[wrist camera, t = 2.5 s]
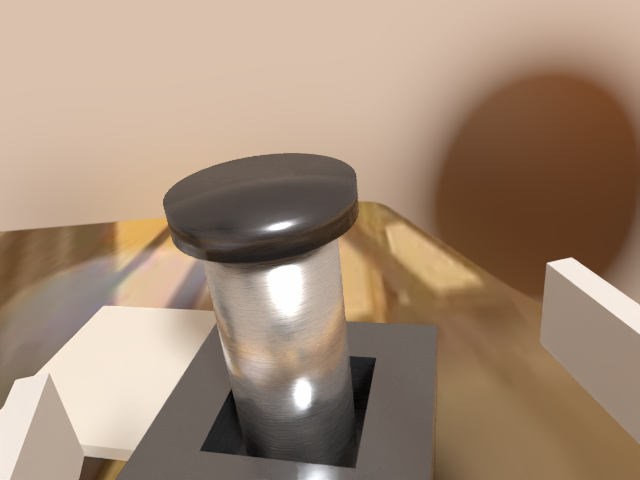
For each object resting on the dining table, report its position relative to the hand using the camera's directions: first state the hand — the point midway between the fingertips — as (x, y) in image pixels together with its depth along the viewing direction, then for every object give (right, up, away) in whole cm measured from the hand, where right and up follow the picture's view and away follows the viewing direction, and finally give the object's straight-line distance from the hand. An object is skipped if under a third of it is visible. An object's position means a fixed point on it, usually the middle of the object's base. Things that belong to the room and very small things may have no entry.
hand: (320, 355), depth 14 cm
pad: (-13, -7, +24) cm, 28 cm away
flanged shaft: (-1, -9, +15) cm, 18 cm away
